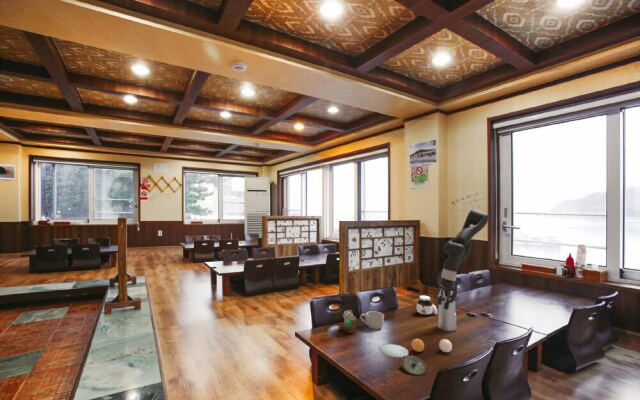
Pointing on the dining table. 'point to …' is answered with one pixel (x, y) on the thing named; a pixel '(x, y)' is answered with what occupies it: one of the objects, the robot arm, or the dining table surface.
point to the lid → (413, 365)
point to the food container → (349, 321)
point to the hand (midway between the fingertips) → (442, 306)
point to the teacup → (373, 319)
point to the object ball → (417, 345)
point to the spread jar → (426, 306)
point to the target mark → (394, 350)
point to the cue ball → (445, 345)
